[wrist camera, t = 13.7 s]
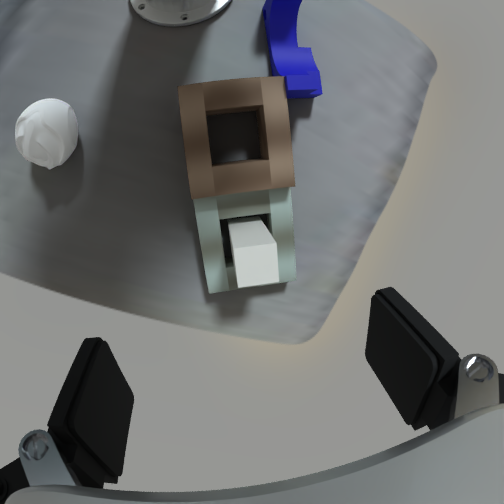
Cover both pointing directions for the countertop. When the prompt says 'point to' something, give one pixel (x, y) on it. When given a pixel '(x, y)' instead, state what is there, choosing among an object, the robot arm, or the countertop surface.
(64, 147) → the white round lump
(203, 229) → the socket block
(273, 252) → the peg
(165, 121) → the countertop surface
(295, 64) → the blue curved block
